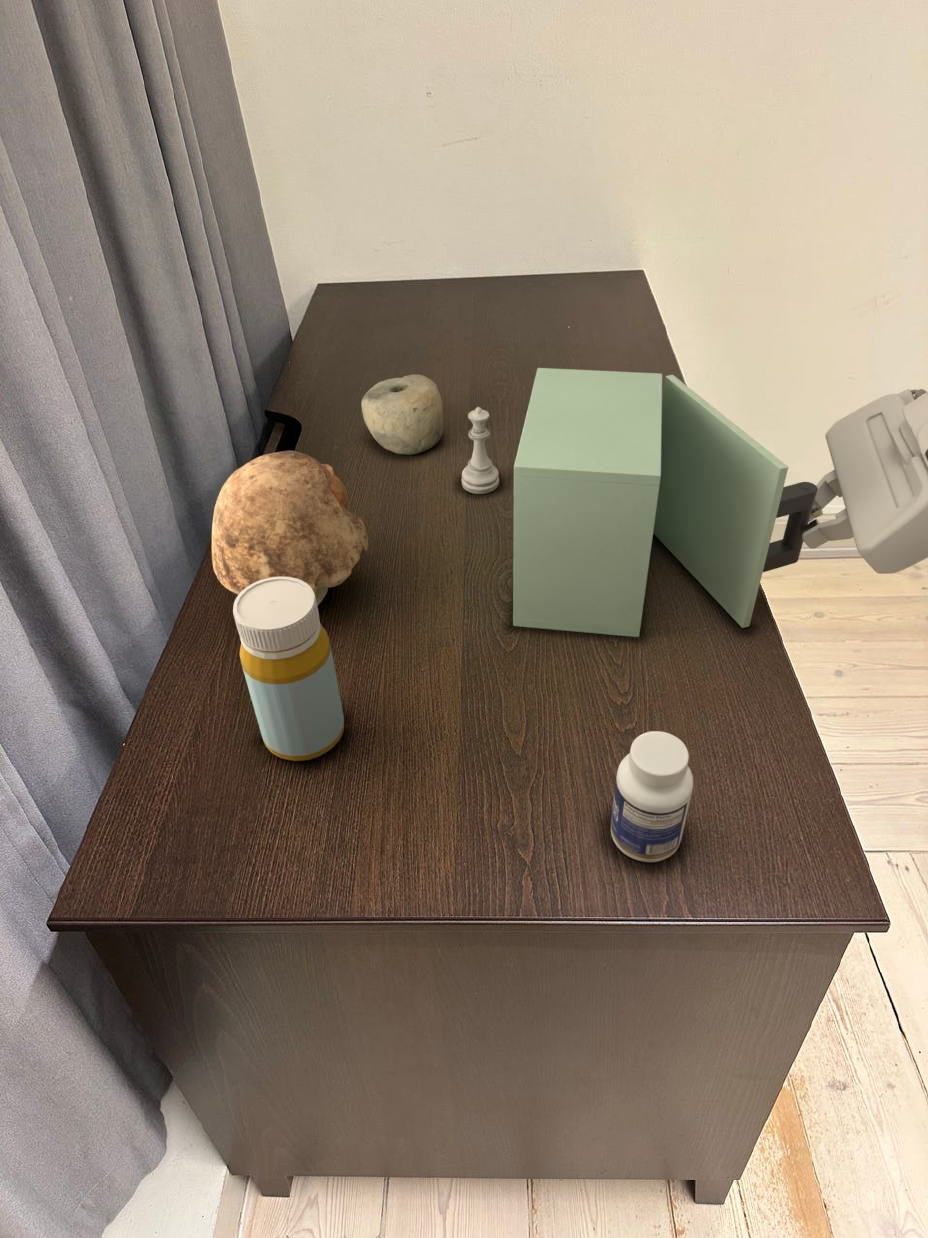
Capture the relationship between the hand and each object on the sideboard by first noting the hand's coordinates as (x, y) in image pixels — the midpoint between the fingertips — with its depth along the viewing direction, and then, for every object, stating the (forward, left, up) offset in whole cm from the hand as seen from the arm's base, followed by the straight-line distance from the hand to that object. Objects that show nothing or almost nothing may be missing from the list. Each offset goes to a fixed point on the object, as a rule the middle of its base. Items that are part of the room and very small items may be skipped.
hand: (802, 526), depth 82 cm
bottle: (+42, +24, -9) cm, 49 cm away
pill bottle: (+13, +30, -9) cm, 34 cm away
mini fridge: (+20, -1, -8) cm, 22 cm away
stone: (+44, -25, -9) cm, 51 cm away
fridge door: (+6, -4, -8) cm, 11 cm away
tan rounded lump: (+48, +6, -9) cm, 49 cm away
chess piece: (+33, -16, -9) cm, 38 cm away
